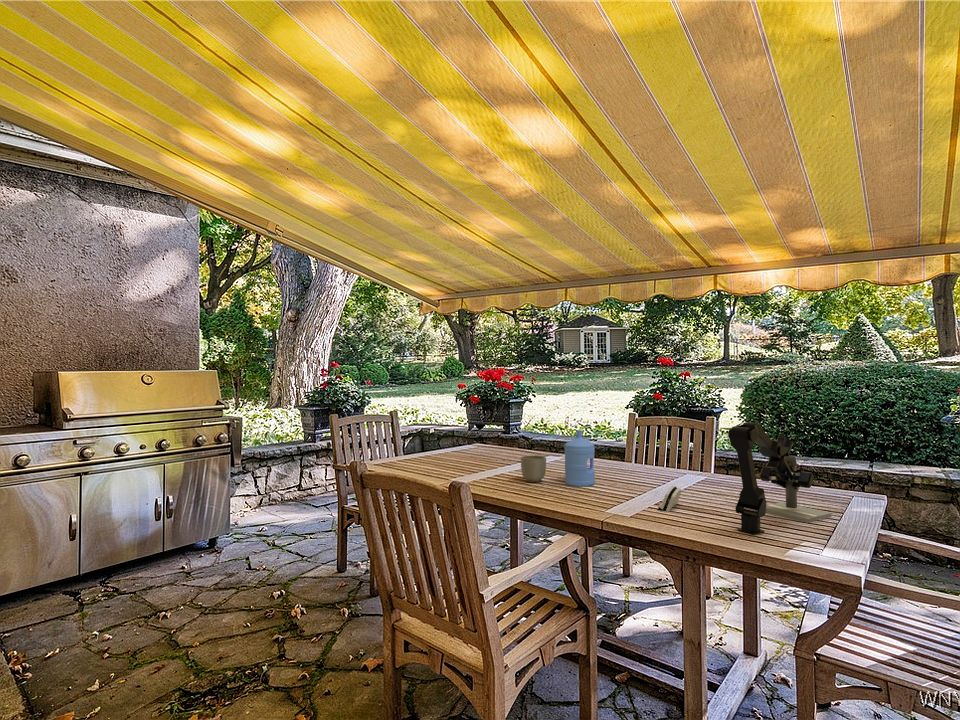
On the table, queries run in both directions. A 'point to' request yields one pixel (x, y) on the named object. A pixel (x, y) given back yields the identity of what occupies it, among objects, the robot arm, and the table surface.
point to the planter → (533, 467)
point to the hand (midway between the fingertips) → (792, 489)
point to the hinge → (670, 498)
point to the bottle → (790, 495)
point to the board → (797, 512)
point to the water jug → (579, 461)
